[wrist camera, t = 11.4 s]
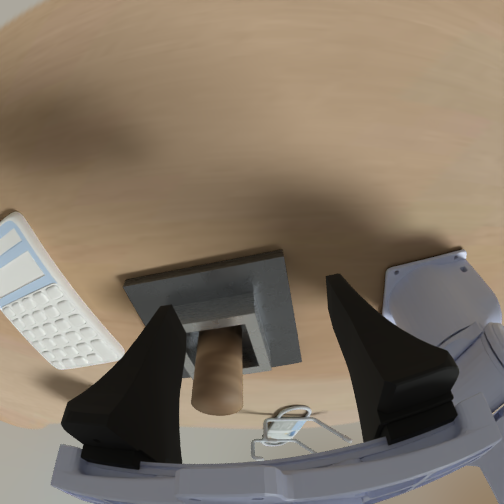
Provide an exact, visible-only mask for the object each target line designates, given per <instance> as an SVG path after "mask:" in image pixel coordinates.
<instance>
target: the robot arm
mask: <svg viewBox="0 0 504 504" xmlns="http://www.w3.org/2000/svg"><path fill="white" fill-rule="evenodd" d="M466 255H467V252H466V251H465V250H464V249H463V250H459V251H455V252H451V253H447V254H443V255H439V256H436V257H432V258H428V259H424V260H419V261H415V262H411V263H407V264H403V265H399V266H395V267H391V268H388V269H387V271H386V275H385V288H384V299H383V309H382V315H381V314H380V313H379V312H378V311H376V310H375V309H374V308H373V307H372V306H371V305H369V304H368V303H367V302H366V301H365V300H364V299H363V298H362V297H361V296H360V295H359V294H358V293H357V292H356V291H355V290H354V289H353V288H352V287H351V286H350V285H349V284H348V282H347V281H346V280H345V279H344V278H343V277H342V275H340V274H334V275H329V276H326V285H327V299H328V310H329V314H330V318H331V322H332V326H333V329H334V332H335V334H336V337H337V340H338V342H339V345H340V348H341V350H342V353H343V356H344V358H345V361H346V364H347V367H348V370H349V373H350V377H351V381H352V385H353V390H354V394H355V399H356V403H357V408H358V413H359V418H360V424H361V429H362V436H363V442H364V443H360V444H356V445H352V446H348V447H344V448H339V449H335V450H330V451H325V452H320V453H314V454H309V455H303V456H297V457H290V458H282V459H275V460H266V461H256V462H243V463H227V464H226V463H225V464H182V457H181V448H180V433H179V397H180V388H181V382H182V375H183V369H184V363H185V356H186V334H187V333H186V331H185V329H184V327H183V326H182V324H181V322H180V320H179V318H178V316H177V314H176V312H175V310H174V308H173V306H172V304H171V305H164V306H160V307H159V308H158V310H157V311H156V313H155V314H154V315H153V317H152V318H151V320H150V321H149V323H148V324H147V325H146V327H145V328H144V330H143V331H142V332H141V334H140V335H139V337H138V338H137V339H136V341H135V342H134V343H133V344H132V346H131V347H130V348H129V349H128V351H127V352H126V353H125V354H124V356H123V357H122V358H121V359H120V360H119V361H118V362H117V363H116V364H115V365H114V366H113V368H112V369H110V370H109V371H108V372H107V373H106V374H105V375H104V376H103V377H102V378H101V379H100V380H98V381H97V382H96V383H95V384H94V385H92V386H91V387H90V388H88V389H87V390H86V391H84V392H83V393H81V394H80V395H78V396H77V397H75V398H74V399H72V400H71V401H69V402H68V403H67V406H66V409H65V412H64V415H63V418H62V421H61V425H62V427H63V428H64V430H65V431H66V432H68V433H69V434H70V435H72V436H73V437H74V438H76V439H77V440H78V441H80V442H81V443H82V444H84V445H83V449H80V448H78V447H74V446H69V445H65V444H61V445H60V448H59V451H58V456H57V459H56V463H55V467H54V471H53V476H52V480H51V485H52V486H53V487H55V488H57V489H59V490H61V491H63V492H65V493H67V494H70V495H72V496H74V497H76V498H78V499H81V500H83V501H87V502H90V503H94V504H374V503H377V502H380V501H383V500H386V499H389V498H392V497H395V496H398V495H400V494H403V493H406V492H408V491H411V490H414V489H416V488H418V487H421V486H423V485H426V484H428V483H430V482H432V481H435V480H437V479H439V478H441V477H443V476H445V475H448V474H450V473H452V472H454V471H456V470H458V469H460V468H462V467H464V466H466V465H469V466H478V467H480V468H481V470H482V472H483V474H484V476H485V478H486V479H487V481H488V483H489V485H490V487H491V489H492V491H493V493H494V495H495V497H496V499H497V501H498V503H499V504H504V406H503V407H502V408H500V409H499V410H498V411H497V412H496V413H494V414H493V415H492V413H493V412H494V411H495V410H496V409H498V408H499V407H500V406H501V405H502V404H504V326H503V325H502V324H501V323H502V314H501V308H500V305H499V302H498V300H497V297H496V296H495V294H494V293H493V291H492V290H491V289H490V287H489V286H488V285H487V284H486V283H485V281H484V280H483V279H482V278H481V277H480V275H479V274H478V273H477V272H476V271H475V270H474V268H473V267H472V266H471V265H470V264H469V263H468V262H467V260H466ZM395 271H397V272H395ZM394 272H395V273H394ZM396 325H397V326H396Z"/></svg>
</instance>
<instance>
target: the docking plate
mask: <svg viewBox="0 0 504 504" xmlns="http://www.w3.org/2000/svg"><path fill="white" fill-rule="evenodd" d="M123 288H124V290H125V292H126V293H127V295H128V297H129V299H130V301H131V302H132V304H133V306H134V308H135V309H136V311H137V313H138V314H139V316H140V318H141V319H142V321H143V323H144V324H145V326H146V325H147V324H148V323H149V321H150V320H151V318H152V317H153V315H154V314H155V313H156V311H157V310H158V308H159V307H160V306H164V305H171V304H172V306H173V308H174V310H175V312H176V314H177V316H178V318H179V320H180V322H181V324H182V326H183V327H184V329H185V331H186V333H187V334H186V356H185V363H184V369H183V375H182V378H189V377H191V378H192V380H193V379H194V370H195V361H196V353H197V344H198V336H199V331H202V330H209V329H216V328H223V327H229V326H236V325H240V326H241V328H242V369H243V374H250V373H257V372H263V371H270V370H272V368H271V367H276V366H282V365H288V364H294V363H299V362H302V360H301V353H300V347H299V341H298V335H297V329H296V323H295V317H294V311H293V306H292V300H291V294H290V288H289V283H288V277H287V272H286V266H285V261H284V256H283V251H282V250H277V251H272V252H267V253H262V254H257V255H252V256H247V257H241V258H236V259H231V260H226V261H221V262H216V263H211V264H206V265H200V266H195V267H190V268H185V269H180V270H175V271H169V272H164V273H159V274H154V275H149V276H143V277H138V278H133V279H128V280H126V281H125V283H124V285H123Z"/></svg>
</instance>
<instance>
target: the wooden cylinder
mask: <svg viewBox="0 0 504 504" xmlns="http://www.w3.org/2000/svg"><path fill="white" fill-rule="evenodd" d="M191 404H192V406H193V407H194V408H195V409H196V410H198V411H200V412H202V413H205V414H209V415H216V416H224V415H231V414H234V413H237V412H238V411H240V410H241V409H242V407H243V369H242V328H241V326H240V325H236V326H229V327H223V328H216V329H209V330H202V331H199V336H198V344H197V353H196V361H195V370H194V379H193V389H192V399H191Z"/></svg>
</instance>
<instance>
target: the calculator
mask: <svg viewBox="0 0 504 504" xmlns="http://www.w3.org/2000/svg"><path fill="white" fill-rule="evenodd" d="M0 310H1V311H2V312H3V313H4V314H5V316H6V317H7V318H8V319H9V320H10V322H11V323H12V324H13V325H14V326H15V327H16V328H17V330H18V331H19V332H20V333H21V334H22V335H23V336H24V337H25V338H26V339H27V340H28V342H29V343H30V344H31V345H32V346H33V347H34V348H35V349H36V350H37V351H38V352H39V353H40V354H41V355H42V356H43V357H44V358H45V359H46V360H47V361H48V362H49V363H50V364H51V365H53V366H54V367H55V368H57V369H60V370H65V369H72V368H79V367H85V366H91V365H97V364H103V363H109V362H114V361H118V360H120V359H121V358H122V357H123V356H124V352H125V351H124V348H123V347H122V346H121V344H120V343H119V342H118V341H117V340H116V339H115V338H114V337H113V336H112V334H111V333H110V332H109V331H108V330H107V329H106V328H105V326H104V325H103V324H102V323H101V322H100V321H99V319H98V318H97V317H96V316H95V315H94V314H93V312H92V311H91V310H90V309H89V308H88V306H87V305H86V304H85V303H84V301H83V300H82V299H81V298H80V296H79V295H78V294H77V293H76V291H75V290H74V289H73V287H72V286H71V285H70V283H69V282H68V281H67V279H66V278H65V277H64V275H63V274H62V273H61V271H60V270H59V268H58V267H57V266H56V264H55V263H54V261H53V260H52V259H51V257H50V256H49V254H48V253H47V251H46V250H45V248H44V247H43V245H42V244H41V242H40V241H39V239H38V238H37V236H36V235H35V233H34V232H33V230H32V228H31V227H30V225H29V224H28V222H27V221H26V219H25V218H24V217H23V215H22V214H21V213H19V212H16V211H15V212H12V213H11V214H9V215H8V216H6V217H5V218H4V219H3V220H2V221H0Z"/></svg>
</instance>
